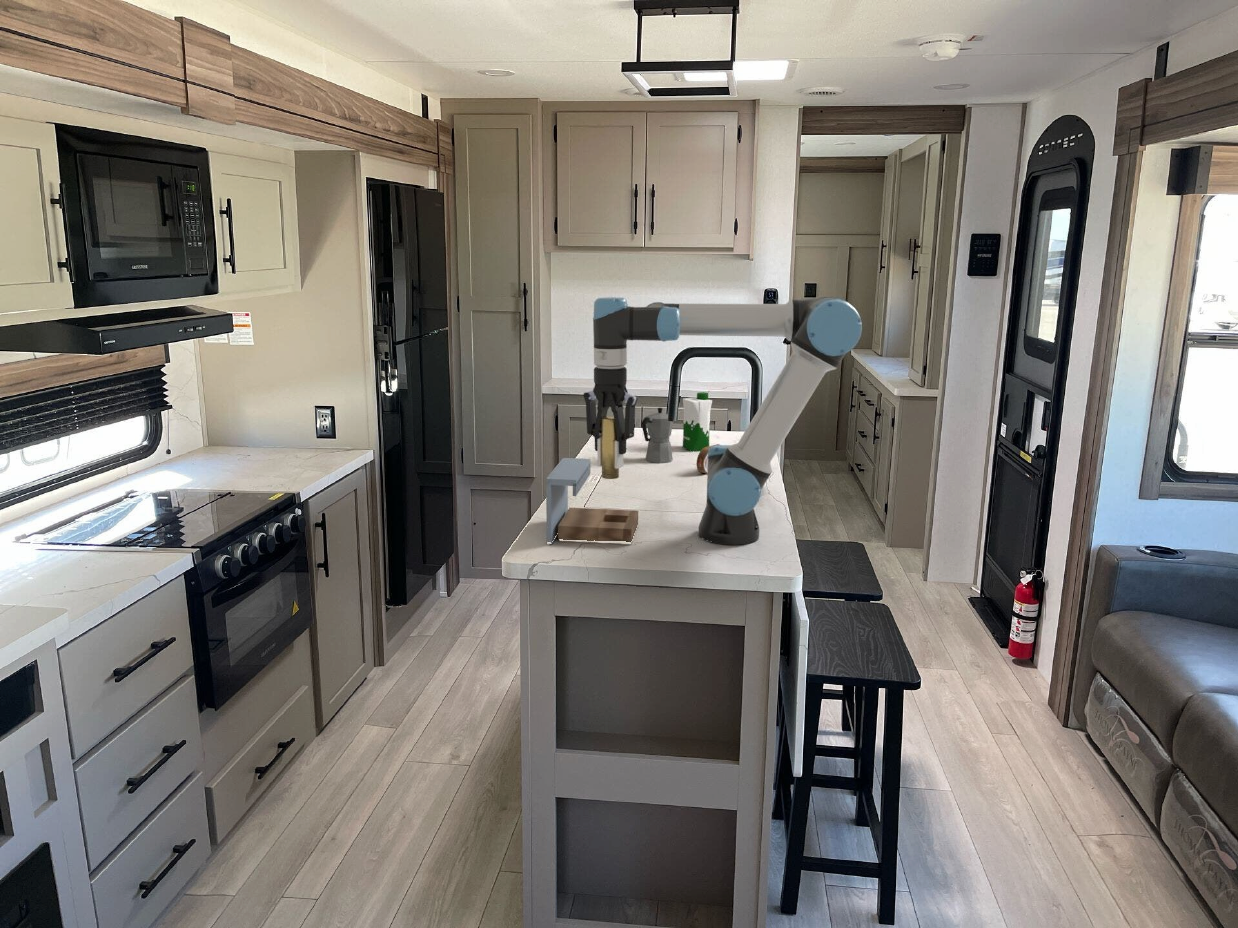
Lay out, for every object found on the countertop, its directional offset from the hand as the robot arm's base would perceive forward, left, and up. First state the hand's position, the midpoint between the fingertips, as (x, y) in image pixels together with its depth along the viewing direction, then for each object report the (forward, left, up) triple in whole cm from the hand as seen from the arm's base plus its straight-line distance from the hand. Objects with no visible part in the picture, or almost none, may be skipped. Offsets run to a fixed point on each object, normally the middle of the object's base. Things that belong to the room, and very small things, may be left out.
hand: (610, 465), depth 213 cm
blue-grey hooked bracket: (+16, +4, -20) cm, 26 cm away
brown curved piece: (+58, -62, -21) cm, 87 cm away
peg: (0, 0, -3) cm, 3 cm away
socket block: (+12, -2, -20) cm, 24 cm away
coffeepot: (+78, -52, -21) cm, 96 cm away
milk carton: (+89, -73, -21) cm, 116 cm away
